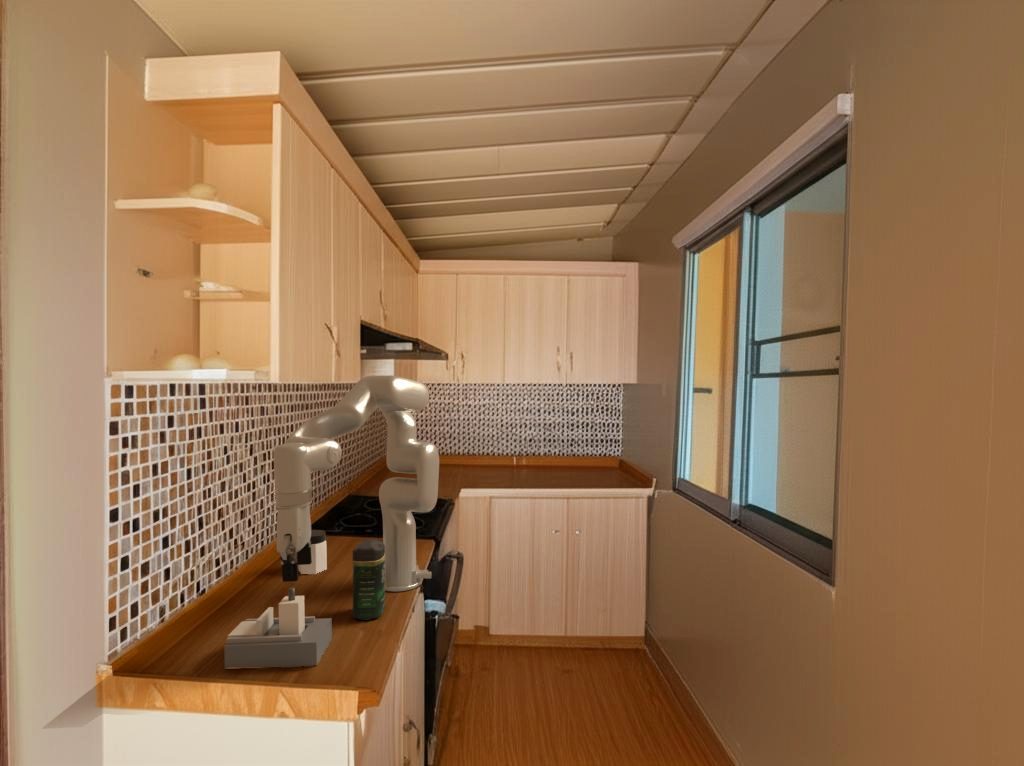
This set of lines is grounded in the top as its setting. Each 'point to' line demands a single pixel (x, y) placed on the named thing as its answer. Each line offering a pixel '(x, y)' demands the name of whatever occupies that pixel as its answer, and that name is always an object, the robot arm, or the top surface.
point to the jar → (316, 554)
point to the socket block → (280, 646)
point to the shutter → (254, 626)
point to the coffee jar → (368, 579)
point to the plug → (292, 614)
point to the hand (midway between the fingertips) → (297, 572)
